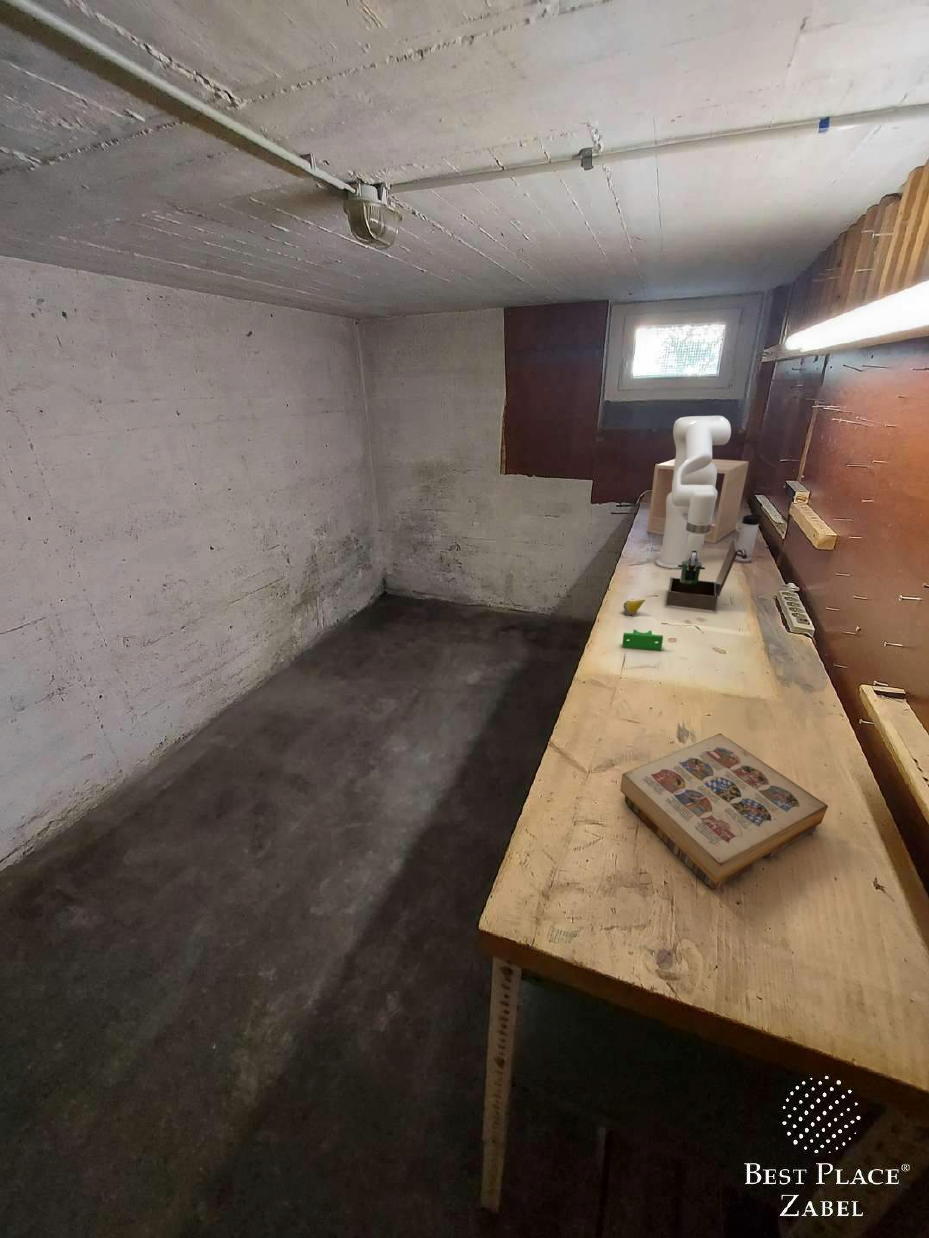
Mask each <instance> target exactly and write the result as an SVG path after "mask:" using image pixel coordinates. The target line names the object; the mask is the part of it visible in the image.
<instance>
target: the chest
mask: <svg viewBox="0 0 929 1238" xmlns="http://www.w3.org/2000/svg"><path fill="white" fill-rule="evenodd" d="M718 597H719V596H717V593H716V581H707V580H701V579H700V580H698V583H697V584H694V585H688V584H683V583H681V582H680V577H679V578H678V577H670V579H669V585H668V591H667V597H666V603H665V605H666V606H671V607H672V606H673V607H679V608H688V609H696V610H704V611H712V612H715V611H716V607H717V601H718Z"/></svg>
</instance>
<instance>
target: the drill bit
mask: <svg viewBox="0 0 929 1238" xmlns="http://www.w3.org/2000/svg"><path fill="white" fill-rule="evenodd" d="M644 602H646V599H640V600H632V601H631V600H626V601H625V602H623V612H624V613H625V614H624V616H627V615H628V616H630V617H633V616H635V615H636V614H637V613H638V611H639V609H640V608H641V607H642V605H643V604H644Z"/></svg>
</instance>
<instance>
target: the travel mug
mask: <svg viewBox="0 0 929 1238" xmlns="http://www.w3.org/2000/svg"><path fill="white" fill-rule="evenodd" d="M761 518H762V515H761V514H746V515H744V516H743V517H742V521H741V526H740V530H739V535H738V539H737V547H738V549H739V550H742V549H745V550H746V553H747V558H746V559H742V557H739V556H736V558H735V560H734V562H736V563H740V564H749V563H751V560H752V556H753V551H754V548H755V543H756V538H757V534H758V529H759V526H760V520H761ZM738 554H741V552H738Z"/></svg>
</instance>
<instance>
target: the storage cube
mask: <svg viewBox="0 0 929 1238" xmlns="http://www.w3.org/2000/svg"><path fill="white" fill-rule="evenodd" d="M711 463H713V464H715V465H716V468H717V474H724V477H723V482H722V487H721V491H720V498H719V502H718V509H717V514H716V519H715V523H711V528H710V533H709V534H706V535H705V539H704V543H712V544H715V543H717V542H719V541H720V540H721V539H723V538H724V537H726V536H727V535H729V534H730V533H731V532H733V531H735V530H736V528H737V522H738V519H739V512H740V508H741V502H742V498H743V493H744V487H745V483H746V478H747V473H748V469H749V464H750V462H749V461H748V460H733V459H716V458H714V459H713V458H712V461H711ZM674 465H675V458H674V459H670V460H668V461H664V462H661V463H658V464H655V465H654V472H653V473H654V474H653V481H652V489H651V495H650V498H651V499H650V505H649V513H648V520H647V530H646V532H647V533H649V534H655V535H661V536H662V535H663V536H664V529H665V522H666V498H667V496H668V494H669V493H671V492H672V481H673V474H674Z"/></svg>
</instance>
